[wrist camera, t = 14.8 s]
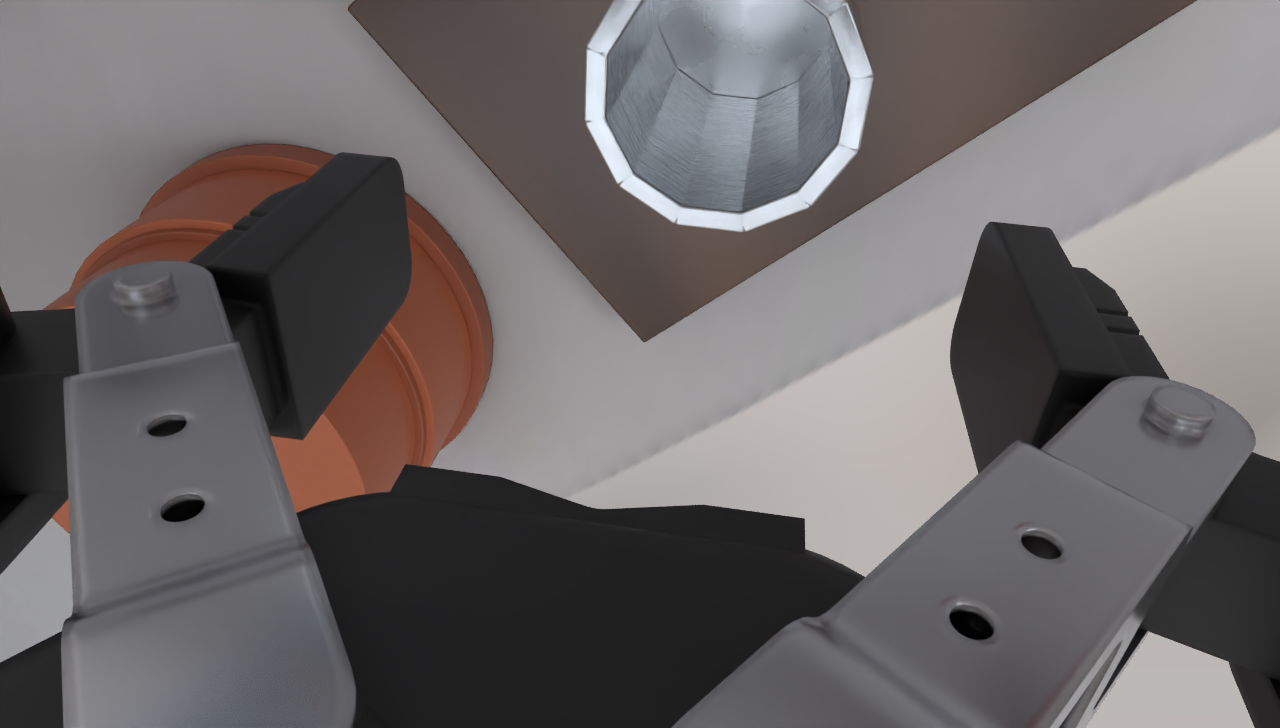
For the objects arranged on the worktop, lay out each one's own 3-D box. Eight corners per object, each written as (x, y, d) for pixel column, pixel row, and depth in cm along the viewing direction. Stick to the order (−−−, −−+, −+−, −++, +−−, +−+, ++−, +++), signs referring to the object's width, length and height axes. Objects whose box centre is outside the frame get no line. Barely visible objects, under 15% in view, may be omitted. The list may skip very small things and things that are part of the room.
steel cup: (640, 97, 28) (581, 214, 21) (651, -117, 25) (586, -68, 17) (830, 117, 28) (840, 244, 20) (869, -99, 24) (899, -42, 17)
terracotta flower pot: (192, 432, 42) (41, 595, 33) (102, 123, 33) (-129, 239, 25) (499, 477, 40) (421, 659, 32) (485, 166, 32) (374, 303, 24)
